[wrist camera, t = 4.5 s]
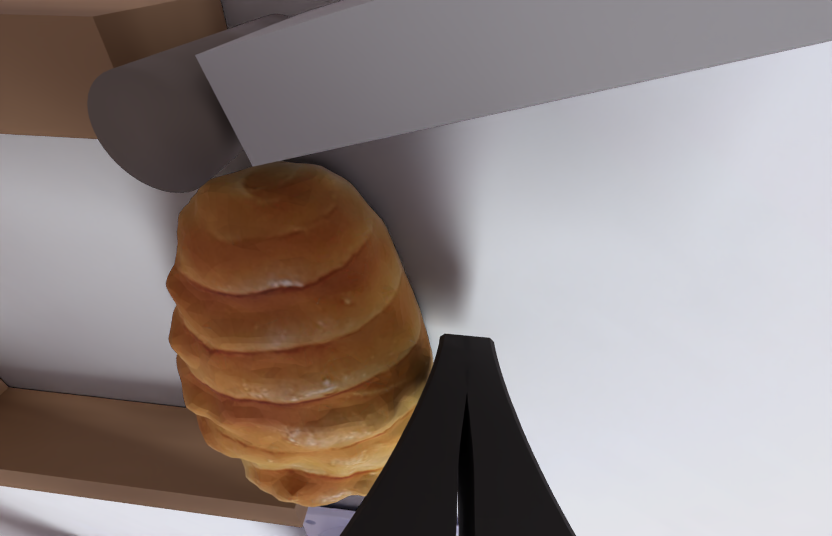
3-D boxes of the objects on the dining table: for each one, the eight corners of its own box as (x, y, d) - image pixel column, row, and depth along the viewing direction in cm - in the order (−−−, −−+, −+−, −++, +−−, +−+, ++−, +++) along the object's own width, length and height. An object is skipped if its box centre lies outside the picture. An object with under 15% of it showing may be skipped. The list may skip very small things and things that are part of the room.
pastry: (140, 144, 9) (-17, 239, 6) (439, 145, 9) (421, 253, 6) (256, 395, 15) (202, 506, 12) (441, 408, 14) (432, 531, 11)
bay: (369, 449, 16) (343, 569, 13) (-3, 405, 18) (-105, 503, 15) (313, -6, 7) (180, 35, 4) (-455, -21, 8) (-1000, -1, 5)
